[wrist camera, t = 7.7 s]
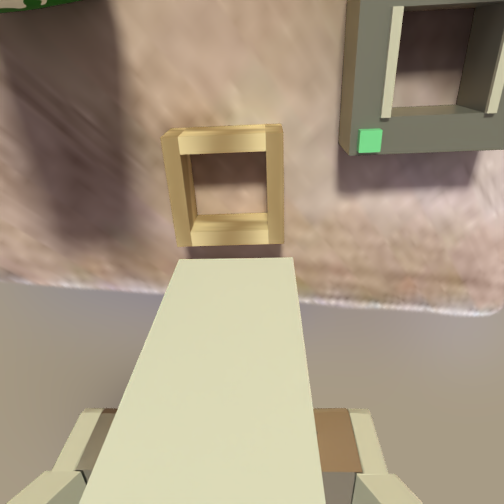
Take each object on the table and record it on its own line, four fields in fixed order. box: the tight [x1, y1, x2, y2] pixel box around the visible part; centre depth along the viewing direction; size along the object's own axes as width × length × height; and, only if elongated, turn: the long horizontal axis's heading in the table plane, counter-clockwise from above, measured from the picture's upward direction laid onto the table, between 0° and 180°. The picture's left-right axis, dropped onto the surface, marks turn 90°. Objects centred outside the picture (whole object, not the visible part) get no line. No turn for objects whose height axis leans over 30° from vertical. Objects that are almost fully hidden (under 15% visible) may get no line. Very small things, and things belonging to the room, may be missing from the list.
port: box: [338, 0, 504, 156], centre depth 24 cm, size 11×11×5 cm
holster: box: [160, 124, 284, 247], centre depth 29 cm, size 8×8×4 cm
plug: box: [79, 257, 326, 504], centre depth 8 cm, size 4×4×13 cm
